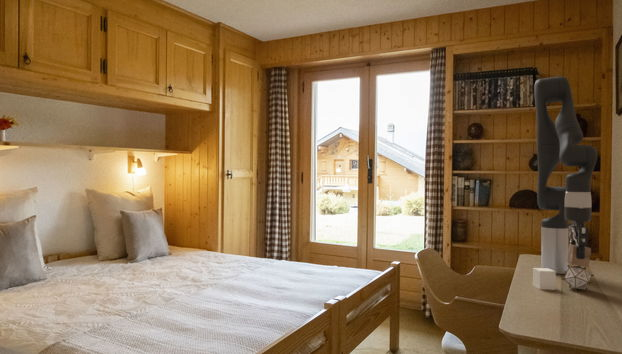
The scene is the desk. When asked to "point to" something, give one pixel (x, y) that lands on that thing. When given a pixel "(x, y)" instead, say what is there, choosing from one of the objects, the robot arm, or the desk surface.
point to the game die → (577, 277)
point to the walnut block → (579, 262)
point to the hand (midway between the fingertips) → (577, 256)
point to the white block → (544, 278)
